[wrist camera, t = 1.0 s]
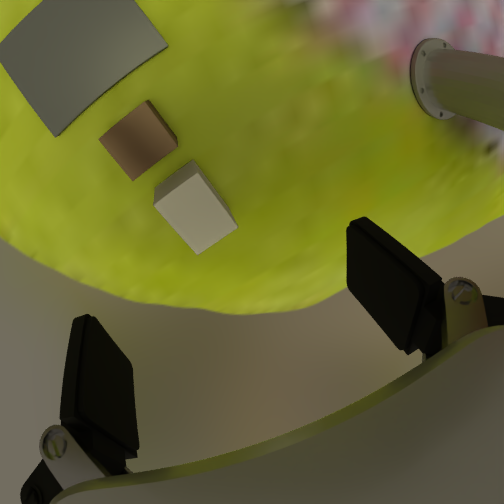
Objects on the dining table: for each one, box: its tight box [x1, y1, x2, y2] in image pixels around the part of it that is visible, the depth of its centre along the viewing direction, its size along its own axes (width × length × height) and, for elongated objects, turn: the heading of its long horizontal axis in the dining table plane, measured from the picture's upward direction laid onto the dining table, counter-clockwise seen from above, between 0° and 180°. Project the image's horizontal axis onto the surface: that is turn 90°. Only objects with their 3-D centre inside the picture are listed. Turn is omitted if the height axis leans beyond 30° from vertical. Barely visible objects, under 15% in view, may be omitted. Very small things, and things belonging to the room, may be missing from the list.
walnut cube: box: [99, 100, 178, 181], centre depth 24 cm, size 5×5×5 cm
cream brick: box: [153, 160, 238, 255], centre depth 29 cm, size 5×7×5 cm
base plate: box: [0, 0, 168, 137], centre depth 18 cm, size 14×14×1 cm
